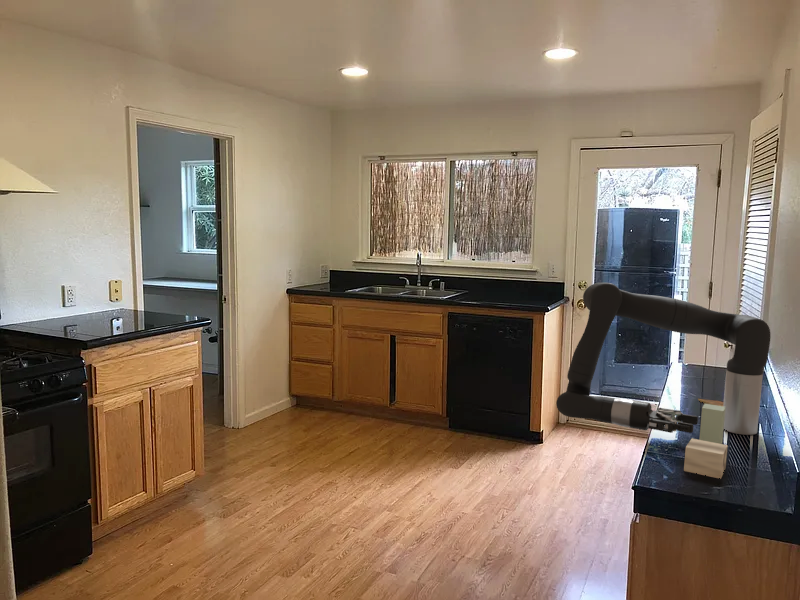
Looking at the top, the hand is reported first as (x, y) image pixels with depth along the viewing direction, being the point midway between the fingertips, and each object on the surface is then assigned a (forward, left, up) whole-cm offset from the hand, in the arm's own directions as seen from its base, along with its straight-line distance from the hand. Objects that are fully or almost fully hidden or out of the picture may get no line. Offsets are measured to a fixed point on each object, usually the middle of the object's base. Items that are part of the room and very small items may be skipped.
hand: (695, 424), depth 169 cm
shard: (-51, +1, -7) cm, 51 cm away
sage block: (0, +4, -7) cm, 8 cm away
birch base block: (+14, +4, -7) cm, 16 cm away
